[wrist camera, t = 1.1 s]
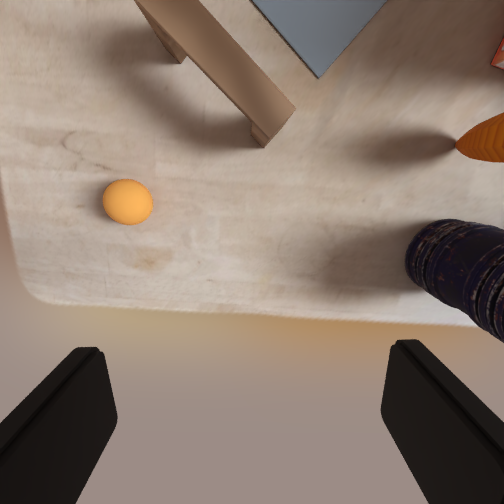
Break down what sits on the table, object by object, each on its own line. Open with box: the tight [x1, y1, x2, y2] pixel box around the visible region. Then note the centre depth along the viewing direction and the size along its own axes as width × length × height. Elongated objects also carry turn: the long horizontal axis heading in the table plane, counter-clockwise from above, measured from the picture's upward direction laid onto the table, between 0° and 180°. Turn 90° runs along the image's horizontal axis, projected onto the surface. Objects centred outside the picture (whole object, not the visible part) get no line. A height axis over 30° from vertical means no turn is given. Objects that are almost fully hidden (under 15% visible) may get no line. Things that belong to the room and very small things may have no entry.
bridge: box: [134, 0, 296, 148], centre depth 23 cm, size 3×14×9 cm, turn 47°
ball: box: [103, 179, 153, 225], centre depth 28 cm, size 5×5×5 cm
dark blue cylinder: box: [405, 219, 504, 343], centre depth 26 cm, size 10×10×15 cm
